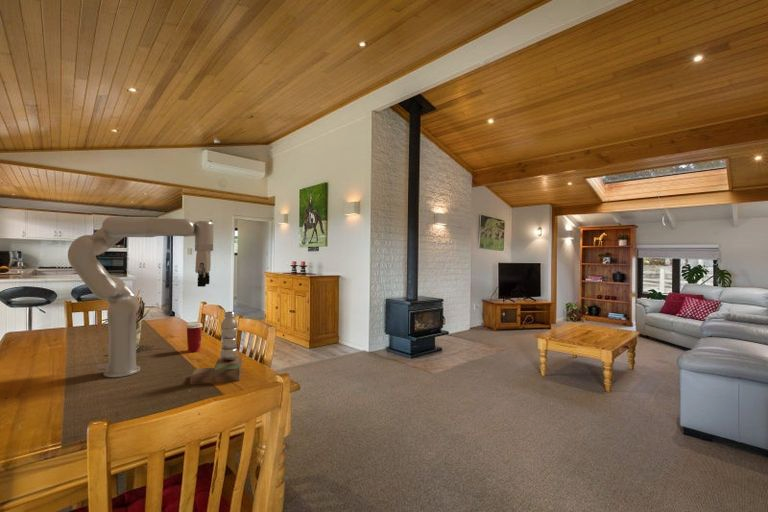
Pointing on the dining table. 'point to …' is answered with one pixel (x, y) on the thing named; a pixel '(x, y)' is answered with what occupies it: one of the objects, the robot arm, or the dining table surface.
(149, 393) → the dining table surface
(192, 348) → the paper cup
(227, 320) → the plastic bottle
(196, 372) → the step stand
